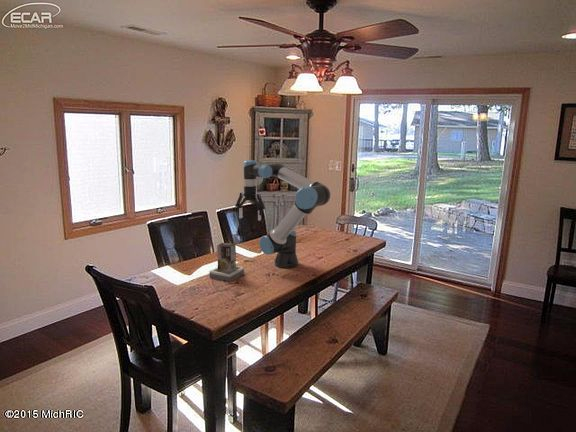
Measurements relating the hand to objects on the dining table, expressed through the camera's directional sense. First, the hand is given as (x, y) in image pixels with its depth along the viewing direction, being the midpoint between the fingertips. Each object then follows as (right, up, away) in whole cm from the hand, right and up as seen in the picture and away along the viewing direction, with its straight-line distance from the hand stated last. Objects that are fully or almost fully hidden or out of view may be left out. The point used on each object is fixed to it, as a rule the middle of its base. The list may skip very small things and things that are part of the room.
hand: (250, 219), depth 261 cm
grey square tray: (-12, -33, -18) cm, 39 cm away
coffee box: (-12, -30, -18) cm, 37 cm away
